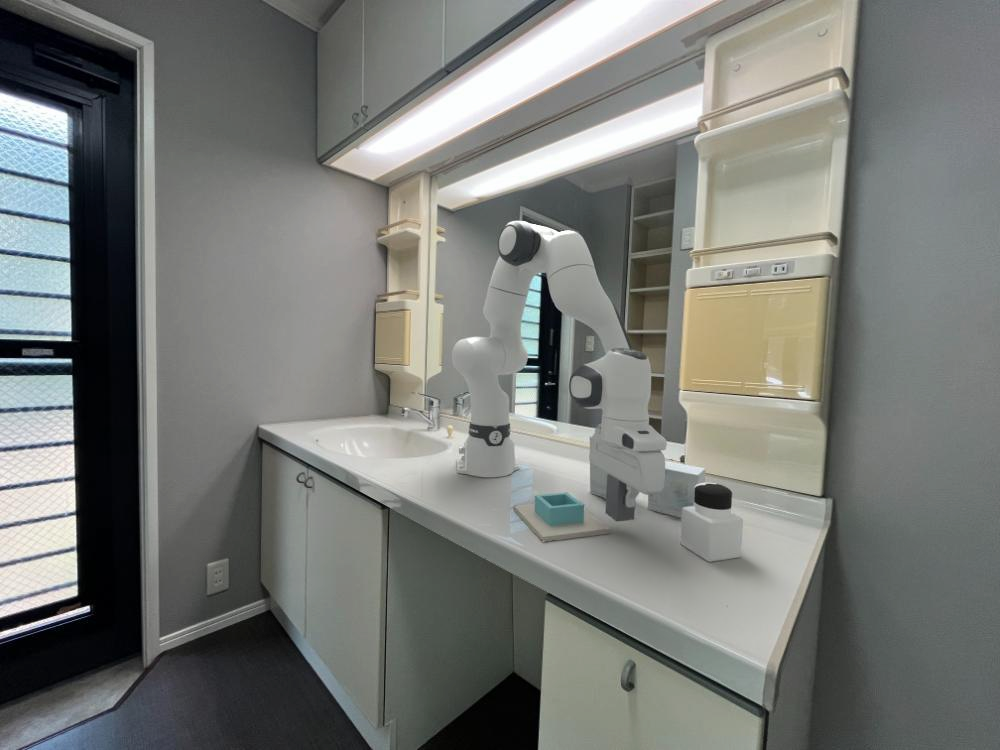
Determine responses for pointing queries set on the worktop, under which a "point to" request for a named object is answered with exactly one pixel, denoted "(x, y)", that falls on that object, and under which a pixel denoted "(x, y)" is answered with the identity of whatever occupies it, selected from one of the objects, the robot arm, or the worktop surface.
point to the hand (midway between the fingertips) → (620, 500)
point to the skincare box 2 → (677, 489)
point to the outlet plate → (559, 518)
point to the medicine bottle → (712, 524)
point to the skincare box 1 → (597, 480)
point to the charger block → (617, 500)
